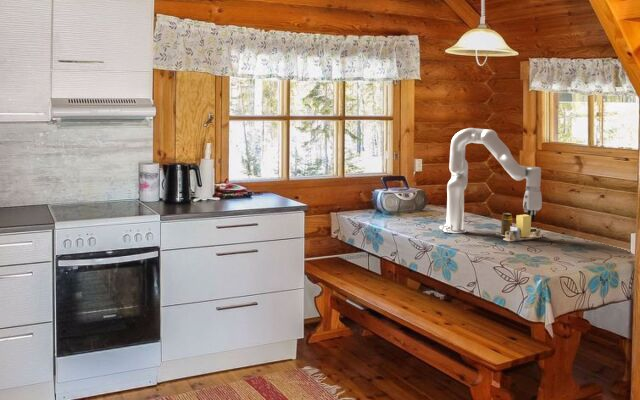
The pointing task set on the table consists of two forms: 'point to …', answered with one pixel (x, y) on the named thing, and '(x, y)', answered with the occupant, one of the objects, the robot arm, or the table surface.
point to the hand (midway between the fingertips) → (531, 221)
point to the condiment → (505, 223)
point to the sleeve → (524, 224)
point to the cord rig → (510, 237)
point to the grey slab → (517, 232)
